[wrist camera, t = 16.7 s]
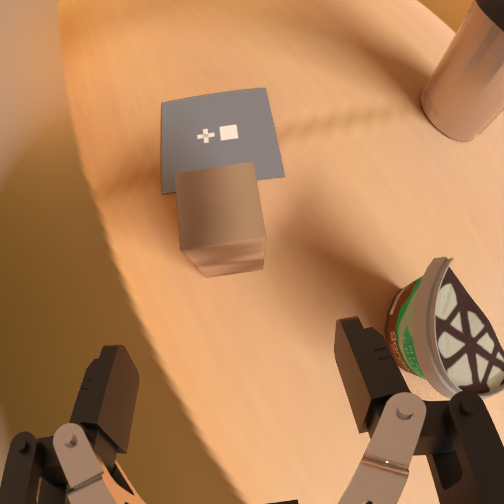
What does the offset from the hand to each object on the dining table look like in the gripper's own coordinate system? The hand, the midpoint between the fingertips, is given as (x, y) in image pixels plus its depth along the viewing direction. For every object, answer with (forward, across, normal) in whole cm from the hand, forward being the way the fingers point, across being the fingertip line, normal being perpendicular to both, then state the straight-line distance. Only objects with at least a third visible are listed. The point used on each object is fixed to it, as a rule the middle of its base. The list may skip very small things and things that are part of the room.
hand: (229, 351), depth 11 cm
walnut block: (+17, 0, +5) cm, 18 cm away
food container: (+9, -15, +14) cm, 22 cm away
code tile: (+25, 0, -4) cm, 26 cm away
